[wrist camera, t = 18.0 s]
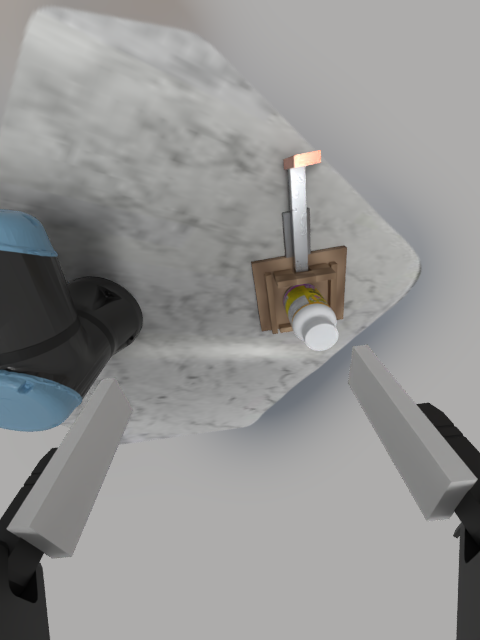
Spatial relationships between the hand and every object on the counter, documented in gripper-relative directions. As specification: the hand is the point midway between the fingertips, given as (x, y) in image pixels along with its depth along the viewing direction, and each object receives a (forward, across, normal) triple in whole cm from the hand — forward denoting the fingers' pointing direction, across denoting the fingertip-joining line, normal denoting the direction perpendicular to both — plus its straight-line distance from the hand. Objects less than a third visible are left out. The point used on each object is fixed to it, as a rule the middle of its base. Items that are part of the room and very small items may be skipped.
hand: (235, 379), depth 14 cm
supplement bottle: (+30, +11, -11) cm, 34 cm away
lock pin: (+30, +11, +3) cm, 32 cm away
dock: (+31, +11, -7) cm, 34 cm away
